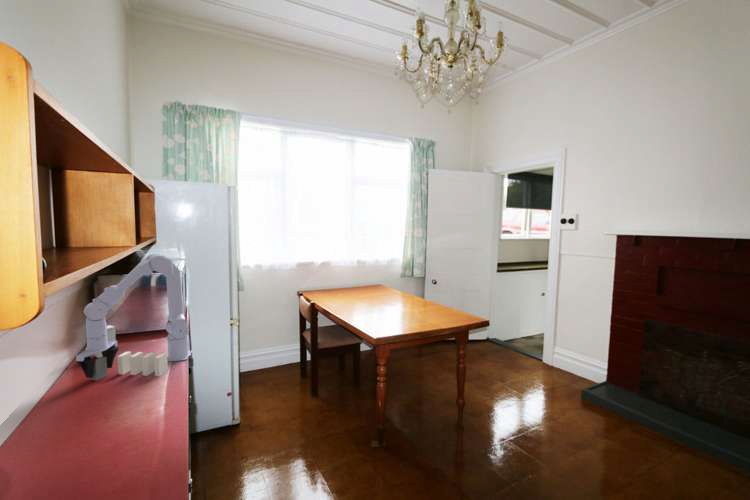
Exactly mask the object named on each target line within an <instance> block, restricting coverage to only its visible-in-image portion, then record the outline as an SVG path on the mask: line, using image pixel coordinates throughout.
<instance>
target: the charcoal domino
mask: <svg viewBox="0 0 750 500" xmlns="http://www.w3.org/2000/svg"><path fill="white" fill-rule="evenodd" d="M95 359H96V361H95V364H94V376H93V377H92V378H91V381H92V380H95V381H94V382H96V381H97V380H98V381H99V379H100V380H102V379H103V378H106V377H107V376H108V368H107V359H106V357H100V358H98V357H97V358H95ZM98 381H97V382H98Z"/></svg>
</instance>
